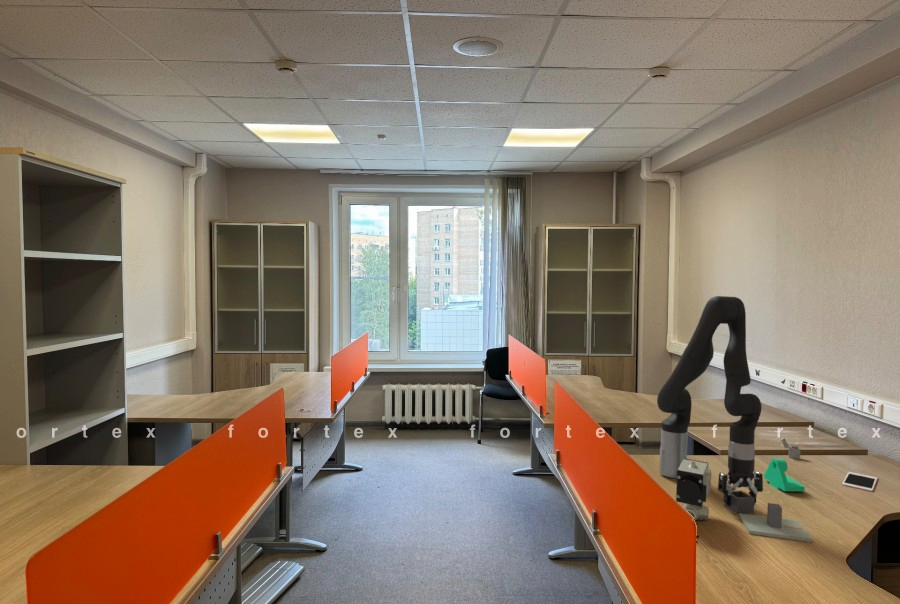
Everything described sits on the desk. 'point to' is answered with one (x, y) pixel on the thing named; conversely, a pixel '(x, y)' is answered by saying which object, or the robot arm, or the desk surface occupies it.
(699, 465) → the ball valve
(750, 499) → the grey open box
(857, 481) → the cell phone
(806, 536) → the grey base with post
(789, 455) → the lighter
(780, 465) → the camera mount
